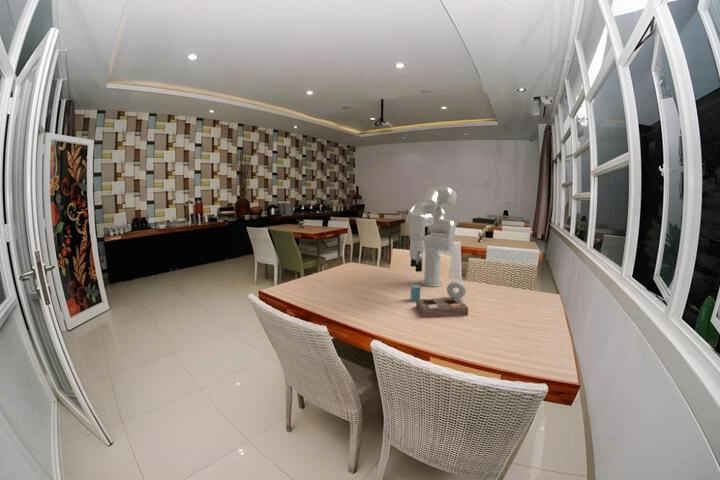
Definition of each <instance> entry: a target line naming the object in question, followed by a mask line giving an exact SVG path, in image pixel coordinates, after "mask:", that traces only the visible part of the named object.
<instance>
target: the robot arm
mask: <svg viewBox="0 0 720 480" xmlns="http://www.w3.org/2000/svg"><path fill="white" fill-rule="evenodd" d="M457 200H458V197H457V192H456V191H455V190H454V189H453V188H451V187H448V186H433V187H431V188H430V189H428V191H427V193H426V195H425V196H424V198H423V200H421V201H419V202H418V203H416V204H414V205H413V206H411V207H410V209H409V210H408V213H407V216H406V223H407V225H408V226H409V240H410V243H409V253H408V254H409V255H408V256H409V257H410V267H413V268H415V272H416V273H417V272H419V273H420V272H422V271H423V269H424V271H423V272H424V274H423V279H422V280H421V285H423V286H427V287H433V288H434V287H440V286H441V285H442V284H443V283H442V281H440V276H441V275H440V271H441V256H440V255H441V254H440V253H439V252H446V253H447V252H450V251H451V252H452V249H453V246H454V242H455V235H456V222H455V221H454V220H452V219H445V218H446V212H445V209H444V208H443V207H442V206H441V205H443V206H453V205H455V204H456V203H457ZM427 227H428V228H429V229H428V231H429V232H430V233H431V234H429V235H426V236H425V232H426V230H425V229H426V228H427ZM423 257H424V258H423ZM423 259H424V268H423Z"/></svg>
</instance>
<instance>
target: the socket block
mask: <svg viewBox="0 0 720 480" xmlns="http://www.w3.org/2000/svg"><path fill="white" fill-rule="evenodd" d="M415 304H416V305H415V307H416V309H417V310H418V312H419V314H420V315H421V316H422V318H433V317H434V318H436V317H437V318H438V317H458V316H459V317H461V316H468V315H469V307H468V305H466V304H465V303H464V302H463V301H461V299H458V298H452V297H451V298H424V299H421V298H420V300H416V302H415Z"/></svg>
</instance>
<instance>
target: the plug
mask: <svg viewBox="0 0 720 480" xmlns="http://www.w3.org/2000/svg"><path fill="white" fill-rule="evenodd" d="M420 299H421V287H420V286H419V284H411V285H410V301H412V303H413V302H414V303H416V300H420Z"/></svg>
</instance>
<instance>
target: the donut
mask: <svg viewBox="0 0 720 480" xmlns="http://www.w3.org/2000/svg"><path fill="white" fill-rule="evenodd" d="M455 288H457V289H458V290H459V291H458V292H455V291H454V289H455ZM446 292H447V294H448V296H449V297H451V298H458V299H459V300H461V299H462V298H464V297H465V295H466V293H467V289H466V286H465V285H464V283H462V282H461V281H458V280H457V281H456V280H455V281H454V280H453V281H452V282H449V284H448V285H447V286H446Z"/></svg>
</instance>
